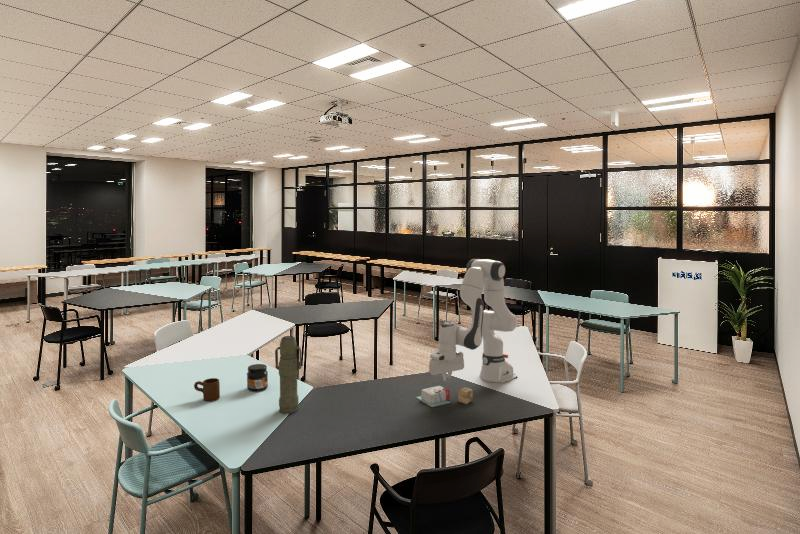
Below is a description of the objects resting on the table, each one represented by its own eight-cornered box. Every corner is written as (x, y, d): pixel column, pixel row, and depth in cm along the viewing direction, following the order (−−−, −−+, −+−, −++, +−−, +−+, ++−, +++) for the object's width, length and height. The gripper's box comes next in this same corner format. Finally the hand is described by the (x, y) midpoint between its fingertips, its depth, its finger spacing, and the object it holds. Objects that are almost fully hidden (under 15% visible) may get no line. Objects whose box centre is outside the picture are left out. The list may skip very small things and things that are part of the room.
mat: (433, 393, 238) (433, 393, 237) (450, 402, 226) (450, 402, 226) (415, 397, 232) (415, 397, 232) (431, 407, 220) (431, 406, 220)
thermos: (276, 407, 218) (275, 335, 214) (301, 405, 220) (301, 334, 216) (274, 414, 209) (273, 340, 206) (301, 413, 211) (300, 339, 208)
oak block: (463, 398, 232) (464, 387, 231) (472, 401, 228) (472, 389, 228) (458, 401, 228) (458, 389, 228) (466, 404, 225) (466, 392, 224)
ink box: (450, 390, 229) (431, 394, 222) (449, 400, 229) (431, 404, 222) (439, 385, 236) (421, 388, 229) (438, 394, 236) (420, 398, 230)
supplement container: (259, 393, 234) (259, 370, 233) (242, 390, 238) (242, 368, 237) (271, 386, 244) (271, 364, 243) (255, 384, 248) (255, 362, 247)
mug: (191, 402, 222) (191, 383, 221) (197, 396, 229) (196, 378, 228) (217, 401, 223) (216, 383, 222) (221, 395, 230) (221, 377, 230)
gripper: (459, 349, 239) (458, 374, 241) (427, 355, 229) (426, 381, 230) (467, 352, 234) (466, 378, 235) (434, 358, 223) (434, 385, 225)
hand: (446, 380), depth 233 cm, fingers closed
